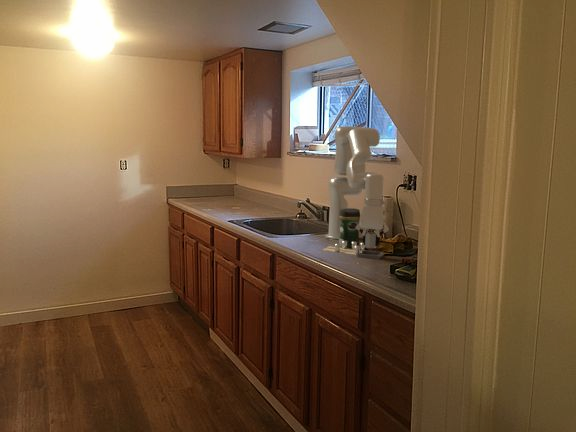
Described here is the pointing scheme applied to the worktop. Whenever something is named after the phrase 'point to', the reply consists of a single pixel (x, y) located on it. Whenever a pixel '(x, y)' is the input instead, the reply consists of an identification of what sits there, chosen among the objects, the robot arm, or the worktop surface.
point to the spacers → (354, 247)
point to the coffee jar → (349, 226)
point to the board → (347, 251)
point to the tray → (370, 254)
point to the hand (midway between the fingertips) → (371, 244)
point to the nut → (370, 240)
